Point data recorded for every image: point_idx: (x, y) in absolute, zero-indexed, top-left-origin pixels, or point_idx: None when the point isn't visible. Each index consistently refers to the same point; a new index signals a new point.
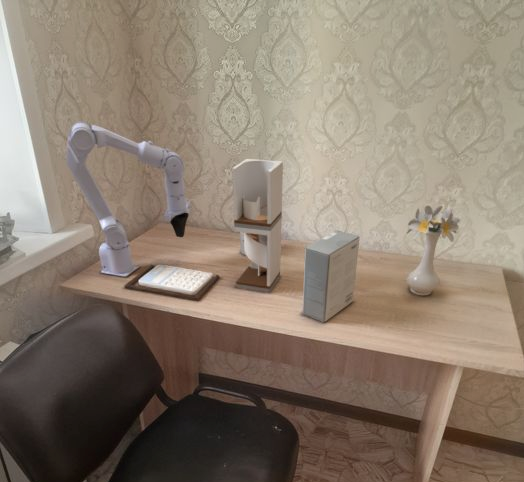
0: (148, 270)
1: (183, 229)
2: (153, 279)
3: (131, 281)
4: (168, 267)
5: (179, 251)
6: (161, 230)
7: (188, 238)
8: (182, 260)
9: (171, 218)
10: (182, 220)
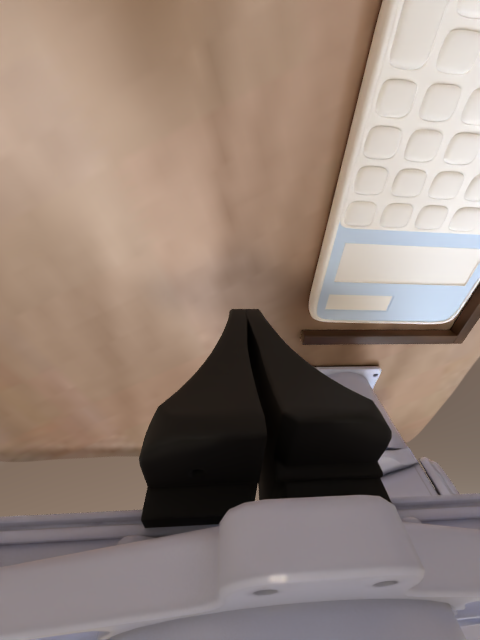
0: (340, 333)
1: (246, 335)
2: (442, 282)
3: (435, 339)
4: (335, 278)
5: (138, 316)
6: (25, 428)
7: (5, 339)
8: (212, 268)
9: (459, 503)
10: (360, 401)
